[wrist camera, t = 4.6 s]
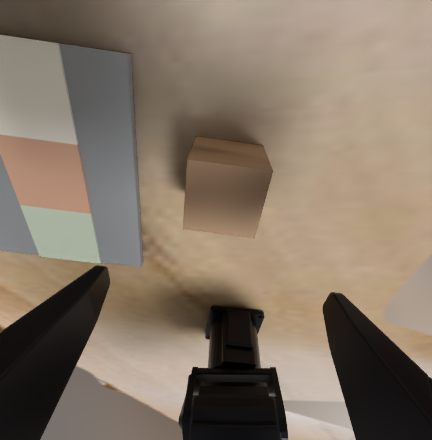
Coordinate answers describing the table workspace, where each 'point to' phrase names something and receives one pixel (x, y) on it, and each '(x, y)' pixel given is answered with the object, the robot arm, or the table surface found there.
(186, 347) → the table surface
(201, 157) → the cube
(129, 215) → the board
